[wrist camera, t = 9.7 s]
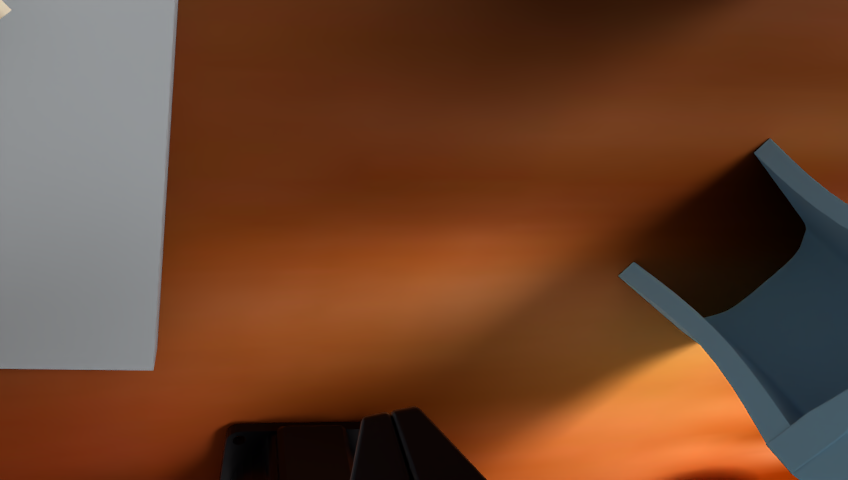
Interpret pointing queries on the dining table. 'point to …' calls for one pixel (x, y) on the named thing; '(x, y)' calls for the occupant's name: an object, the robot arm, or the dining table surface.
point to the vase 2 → (785, 332)
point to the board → (83, 180)
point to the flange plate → (3, 9)
